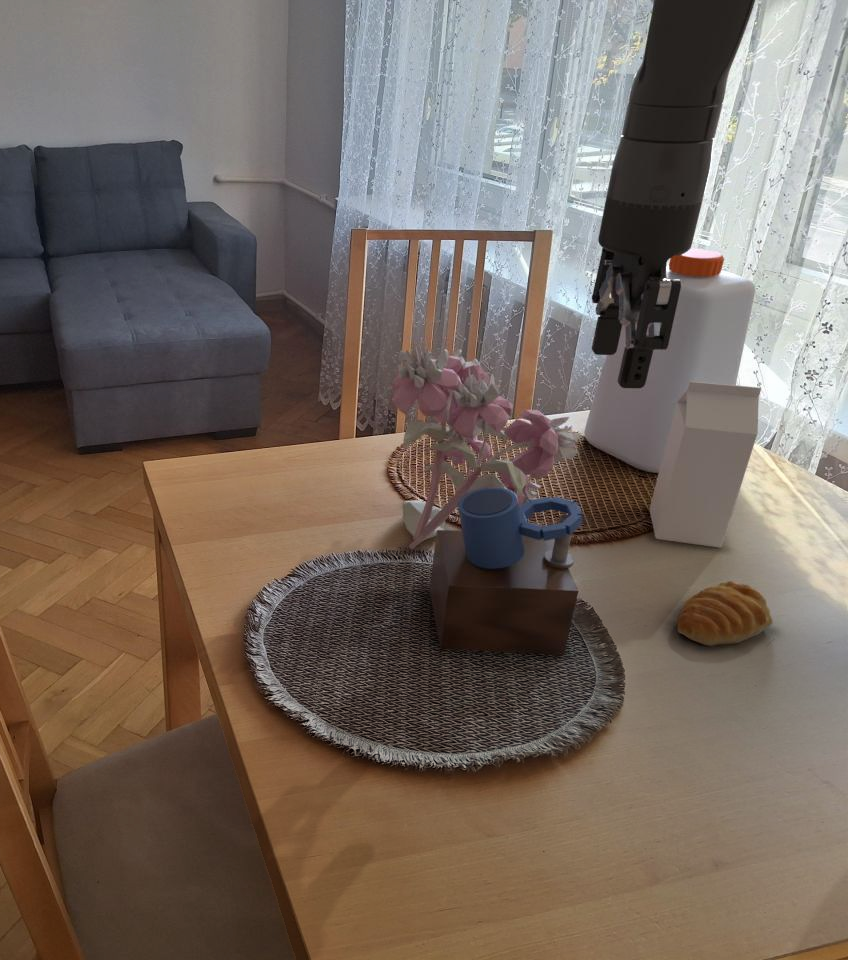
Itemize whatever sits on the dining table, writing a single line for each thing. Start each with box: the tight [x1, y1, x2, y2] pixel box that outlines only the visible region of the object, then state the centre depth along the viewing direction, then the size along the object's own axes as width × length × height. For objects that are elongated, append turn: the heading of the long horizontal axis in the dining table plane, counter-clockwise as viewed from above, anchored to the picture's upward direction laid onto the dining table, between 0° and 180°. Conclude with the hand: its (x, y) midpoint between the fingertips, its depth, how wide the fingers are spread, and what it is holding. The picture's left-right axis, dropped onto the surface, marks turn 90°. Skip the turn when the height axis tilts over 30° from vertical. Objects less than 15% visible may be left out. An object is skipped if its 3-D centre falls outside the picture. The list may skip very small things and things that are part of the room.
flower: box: [391, 340, 583, 550], centre depth 102 cm, size 20×22×25 cm
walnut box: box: [429, 514, 579, 656], centre depth 87 cm, size 13×10×13 cm
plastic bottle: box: [583, 247, 756, 474], centre depth 116 cm, size 15×15×28 cm
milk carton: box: [649, 381, 762, 549], centre depth 100 cm, size 7×7×19 cm
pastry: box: [677, 580, 774, 647], centre depth 87 cm, size 9×7×4 cm
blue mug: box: [457, 487, 584, 569], centre depth 84 cm, size 11×6×6 cm, turn 83°
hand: (616, 369), depth 82 cm, fingers open, 8 cm apart
